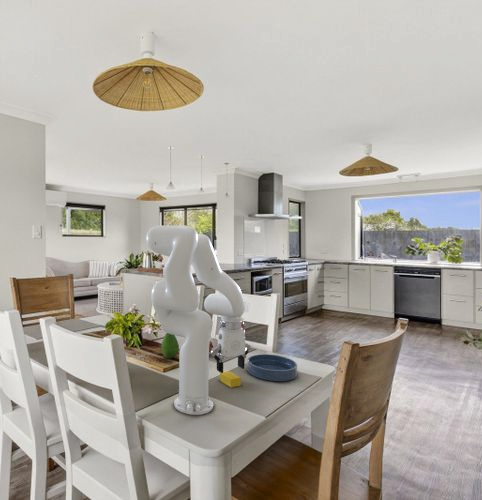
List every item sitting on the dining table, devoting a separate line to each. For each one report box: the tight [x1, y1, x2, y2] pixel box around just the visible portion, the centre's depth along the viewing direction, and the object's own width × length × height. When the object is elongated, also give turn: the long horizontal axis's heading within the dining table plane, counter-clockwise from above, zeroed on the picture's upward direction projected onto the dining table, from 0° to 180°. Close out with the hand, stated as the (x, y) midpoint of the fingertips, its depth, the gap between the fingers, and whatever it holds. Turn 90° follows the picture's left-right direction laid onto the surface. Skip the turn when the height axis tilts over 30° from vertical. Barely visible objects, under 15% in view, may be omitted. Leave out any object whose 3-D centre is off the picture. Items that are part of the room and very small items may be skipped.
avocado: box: [160, 332, 180, 360], centre depth 163 cm, size 8×8×12 cm
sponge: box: [219, 370, 242, 388], centre depth 136 cm, size 7×4×3 cm, turn 25°
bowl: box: [246, 353, 298, 382], centre depth 147 cm, size 19×19×4 cm
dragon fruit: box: [209, 340, 214, 353], centre depth 167 cm, size 8×8×12 cm
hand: (230, 369), depth 136 cm, fingers open, 9 cm apart
